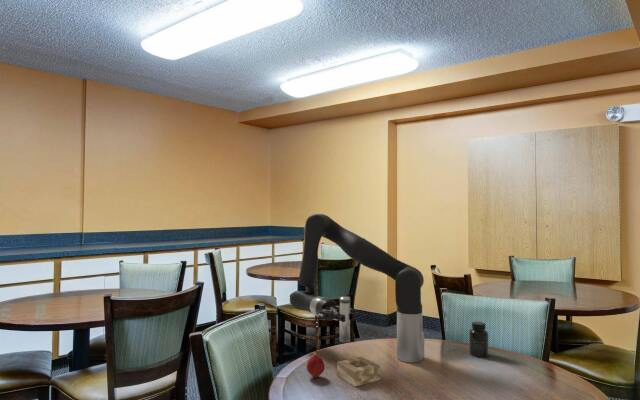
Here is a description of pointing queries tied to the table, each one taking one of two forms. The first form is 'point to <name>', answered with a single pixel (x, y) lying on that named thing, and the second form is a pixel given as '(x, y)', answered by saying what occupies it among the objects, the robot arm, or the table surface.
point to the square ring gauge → (358, 371)
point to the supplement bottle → (478, 340)
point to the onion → (315, 365)
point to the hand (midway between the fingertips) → (349, 318)
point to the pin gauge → (345, 325)
